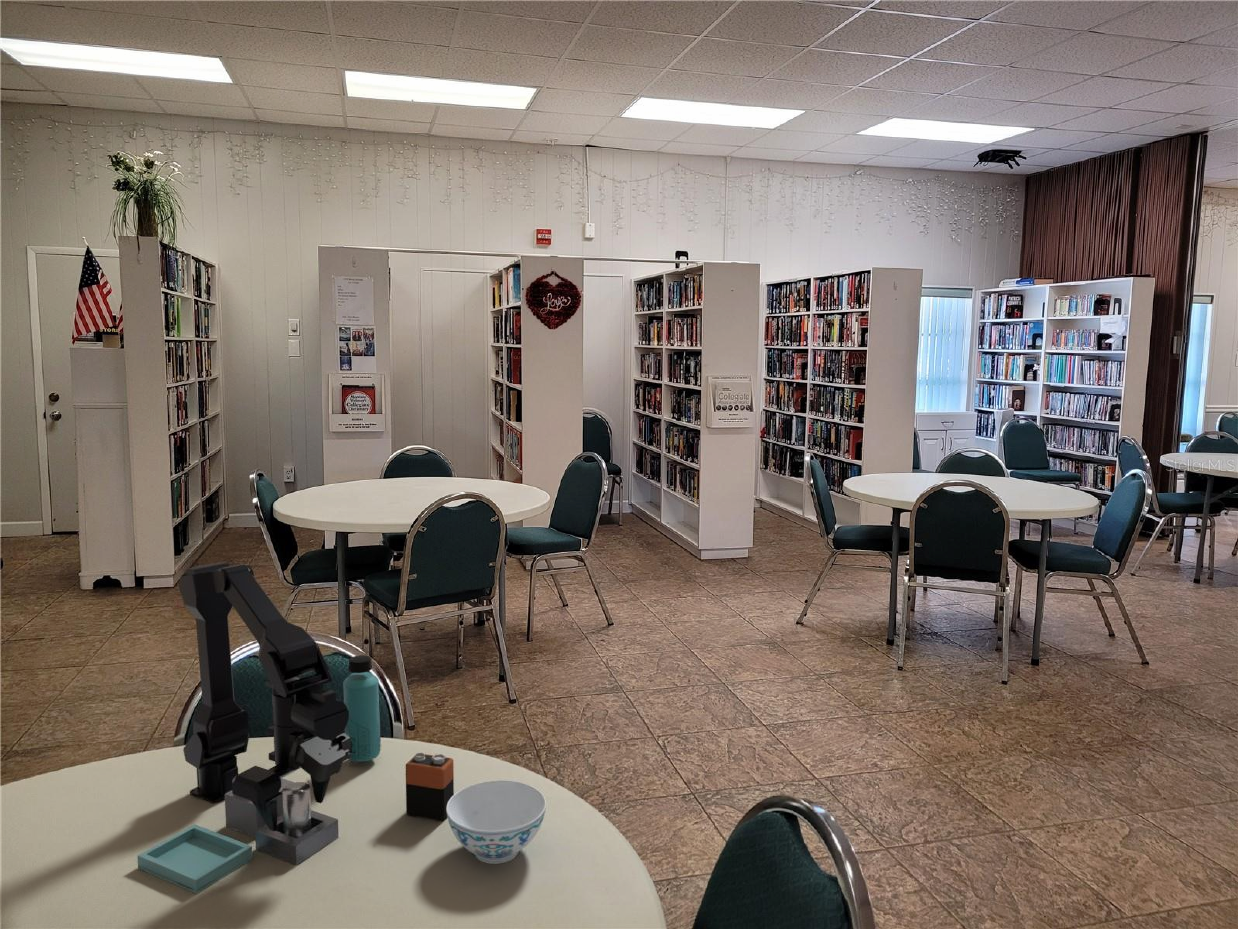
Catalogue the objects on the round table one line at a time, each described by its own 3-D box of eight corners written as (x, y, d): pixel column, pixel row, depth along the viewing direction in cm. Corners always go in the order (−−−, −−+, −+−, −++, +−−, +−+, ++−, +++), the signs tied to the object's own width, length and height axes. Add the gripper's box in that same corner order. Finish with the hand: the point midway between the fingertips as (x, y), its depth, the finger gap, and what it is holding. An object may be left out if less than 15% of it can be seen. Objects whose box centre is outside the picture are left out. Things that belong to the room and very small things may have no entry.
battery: (443, 822, 145) (442, 764, 143) (405, 816, 146) (404, 758, 145) (454, 809, 149) (454, 752, 147) (417, 803, 151) (417, 746, 149)
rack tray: (138, 868, 131) (137, 855, 131) (195, 836, 139) (194, 824, 139) (196, 893, 125) (195, 880, 125) (252, 858, 134) (252, 846, 133)
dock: (226, 826, 142) (224, 794, 142) (266, 803, 149) (265, 772, 149) (257, 838, 139) (255, 805, 138) (297, 814, 146) (296, 782, 145)
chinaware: (520, 890, 128) (521, 839, 126) (428, 868, 132) (427, 820, 131) (560, 835, 142) (561, 789, 141) (475, 817, 146) (475, 773, 145)
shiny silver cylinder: (278, 846, 137) (276, 791, 136) (298, 833, 141) (296, 779, 139) (297, 853, 135) (296, 797, 134) (317, 840, 139) (315, 786, 138)
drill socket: (255, 849, 136) (255, 831, 136) (298, 823, 144) (298, 805, 143) (296, 865, 132) (295, 846, 132) (338, 837, 140) (338, 819, 139)
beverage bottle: (388, 757, 167) (386, 653, 164) (367, 773, 160) (365, 666, 158) (358, 751, 169) (356, 649, 166) (336, 766, 163) (333, 661, 160)
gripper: (283, 756, 123) (287, 861, 126) (377, 708, 140) (379, 801, 142) (227, 739, 128) (231, 840, 131) (324, 694, 145) (327, 784, 147)
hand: (296, 816), depth 137 cm, fingers open, 9 cm apart
